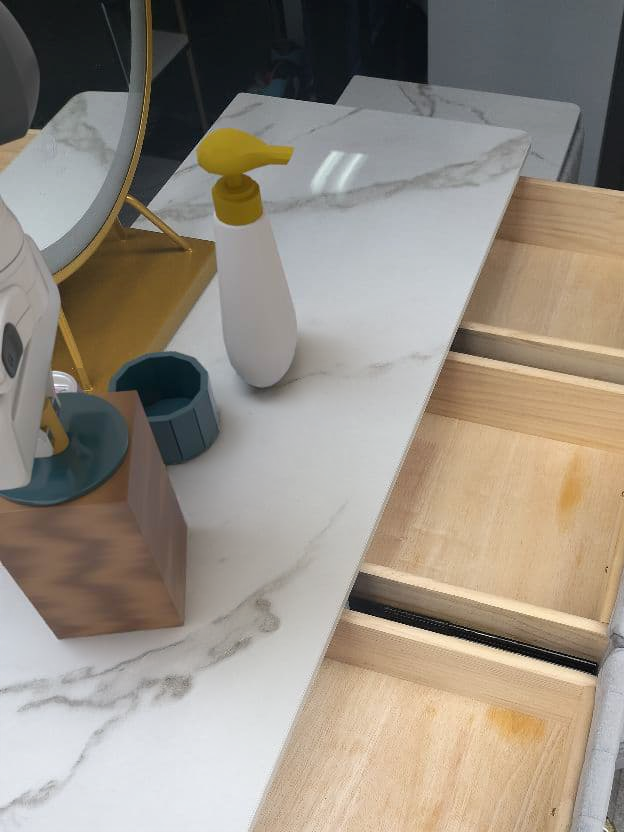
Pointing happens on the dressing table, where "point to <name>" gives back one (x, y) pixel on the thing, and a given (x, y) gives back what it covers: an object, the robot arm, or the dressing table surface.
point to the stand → (104, 545)
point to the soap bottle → (249, 258)
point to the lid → (75, 451)
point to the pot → (173, 402)
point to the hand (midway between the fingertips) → (47, 432)
